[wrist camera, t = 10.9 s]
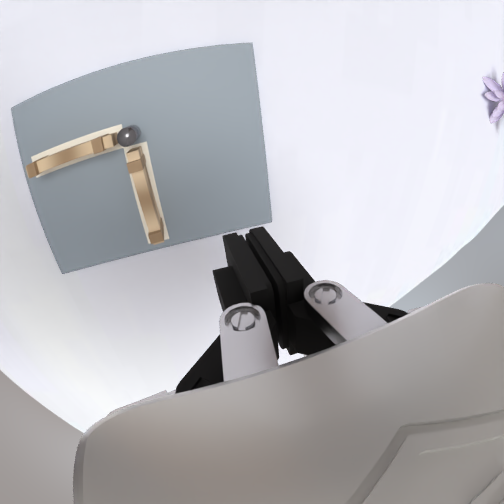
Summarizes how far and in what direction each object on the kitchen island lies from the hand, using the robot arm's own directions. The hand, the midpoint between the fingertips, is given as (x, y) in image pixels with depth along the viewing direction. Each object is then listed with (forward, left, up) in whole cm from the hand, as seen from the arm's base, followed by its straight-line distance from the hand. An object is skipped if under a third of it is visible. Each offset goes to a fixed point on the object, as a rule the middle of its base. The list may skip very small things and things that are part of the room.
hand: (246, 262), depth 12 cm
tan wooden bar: (-6, -2, -21) cm, 22 cm away
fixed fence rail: (-13, +5, -21) cm, 25 cm away
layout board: (-6, +2, -22) cm, 23 cm away
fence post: (-6, +5, -22) cm, 23 cm away
